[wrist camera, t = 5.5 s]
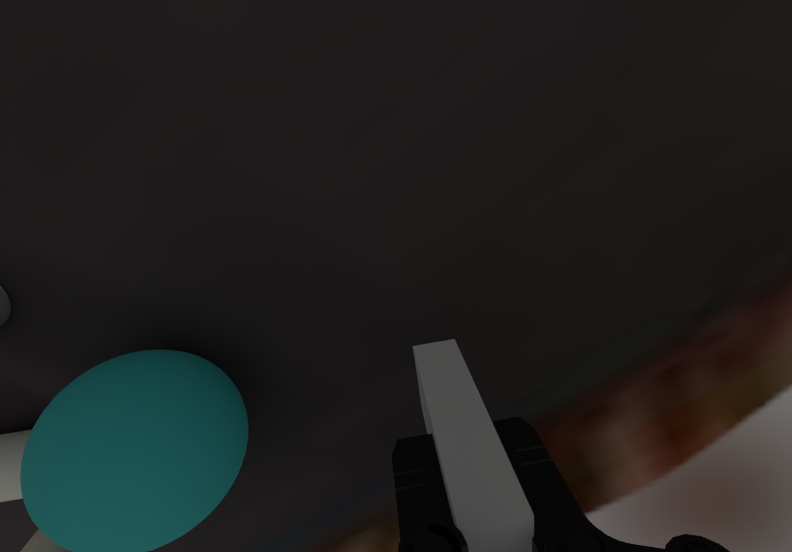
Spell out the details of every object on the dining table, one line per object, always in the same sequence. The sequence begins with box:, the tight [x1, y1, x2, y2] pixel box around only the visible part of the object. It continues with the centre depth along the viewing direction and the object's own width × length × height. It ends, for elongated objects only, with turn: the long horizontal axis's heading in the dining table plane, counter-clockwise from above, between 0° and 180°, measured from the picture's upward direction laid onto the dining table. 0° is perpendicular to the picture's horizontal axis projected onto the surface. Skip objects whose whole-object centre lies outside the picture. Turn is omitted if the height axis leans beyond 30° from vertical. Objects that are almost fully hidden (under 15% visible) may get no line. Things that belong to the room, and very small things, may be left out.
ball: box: [20, 349, 248, 552], centre depth 12 cm, size 6×6×6 cm
